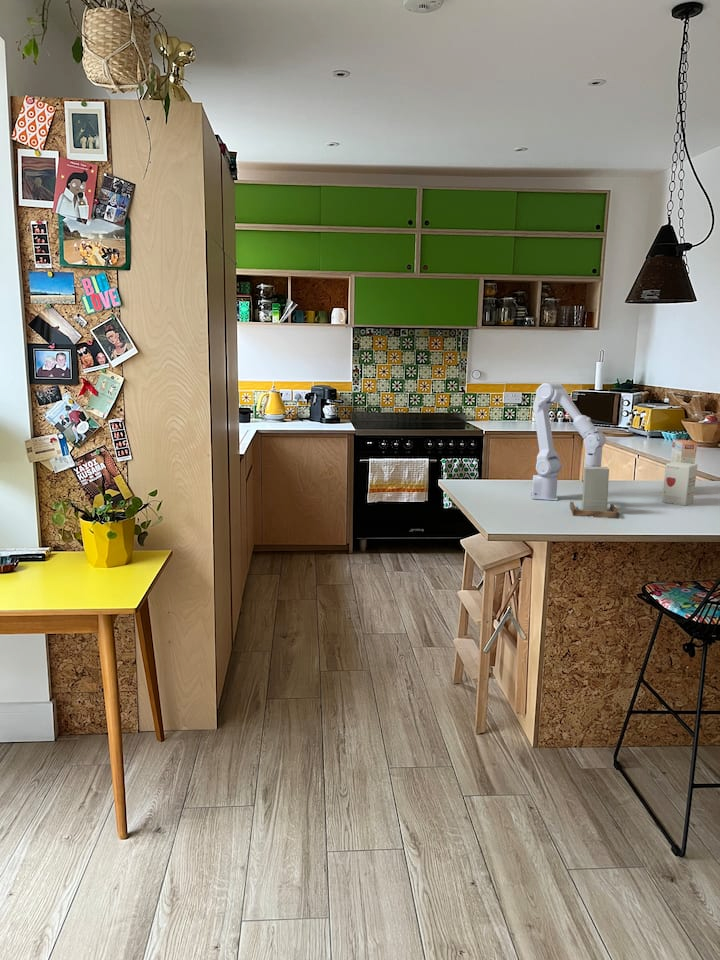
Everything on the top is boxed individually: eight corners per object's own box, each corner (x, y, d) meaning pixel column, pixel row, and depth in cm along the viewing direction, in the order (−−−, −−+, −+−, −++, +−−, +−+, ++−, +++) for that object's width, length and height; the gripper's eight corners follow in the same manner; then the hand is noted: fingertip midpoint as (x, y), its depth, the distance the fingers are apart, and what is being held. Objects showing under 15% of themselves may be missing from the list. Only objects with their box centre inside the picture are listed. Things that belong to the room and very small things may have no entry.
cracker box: (692, 495, 286) (697, 443, 282) (676, 494, 287) (681, 443, 283) (682, 488, 300) (687, 439, 296) (667, 487, 301) (672, 438, 297)
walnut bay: (573, 515, 245) (573, 510, 245) (569, 507, 259) (570, 501, 259) (618, 518, 243) (619, 512, 242) (612, 509, 256) (613, 504, 256)
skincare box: (604, 510, 255) (608, 466, 253) (607, 513, 248) (610, 468, 246) (580, 508, 256) (583, 465, 255) (582, 511, 250) (585, 466, 248)
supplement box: (661, 502, 271) (664, 463, 268) (669, 498, 278) (673, 461, 275) (685, 506, 265) (689, 466, 262) (693, 502, 271) (698, 464, 269)
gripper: (606, 468, 252) (603, 506, 254) (601, 462, 266) (598, 498, 268) (586, 467, 253) (583, 505, 256) (582, 461, 267) (579, 497, 270)
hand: (589, 501), depth 262 cm, fingers open, 7 cm apart
